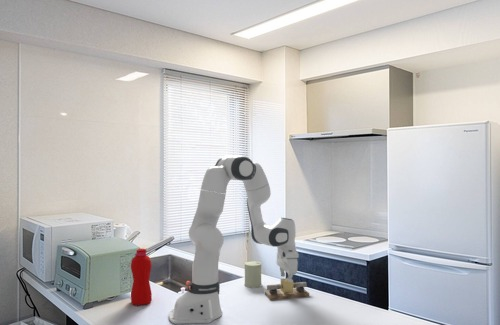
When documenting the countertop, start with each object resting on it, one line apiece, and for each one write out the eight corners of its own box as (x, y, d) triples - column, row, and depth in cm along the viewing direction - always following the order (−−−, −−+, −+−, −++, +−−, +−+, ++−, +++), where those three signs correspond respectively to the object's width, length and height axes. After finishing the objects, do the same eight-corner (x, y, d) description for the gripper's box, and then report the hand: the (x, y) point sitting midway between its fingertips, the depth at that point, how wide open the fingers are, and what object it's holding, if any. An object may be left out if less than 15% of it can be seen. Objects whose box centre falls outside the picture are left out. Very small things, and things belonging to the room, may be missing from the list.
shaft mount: (270, 300, 182) (270, 288, 182) (264, 294, 191) (264, 282, 191) (309, 296, 187) (309, 284, 187) (302, 290, 196) (302, 279, 196)
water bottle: (127, 300, 182) (126, 247, 182) (150, 298, 186) (150, 246, 186) (127, 307, 173) (127, 252, 173) (152, 304, 177) (152, 250, 177)
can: (261, 287, 201) (261, 264, 201) (244, 287, 201) (244, 264, 201) (261, 282, 210) (261, 260, 210) (244, 282, 210) (244, 260, 210)
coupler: (283, 293, 186) (283, 281, 186) (280, 290, 190) (280, 278, 190) (293, 293, 187) (293, 280, 187) (290, 290, 192) (290, 278, 192)
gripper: (273, 246, 198) (273, 273, 198) (287, 255, 178) (286, 285, 178) (285, 246, 200) (284, 272, 200) (299, 255, 180) (299, 284, 180)
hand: (285, 278), depth 189 cm, fingers open, 8 cm apart
